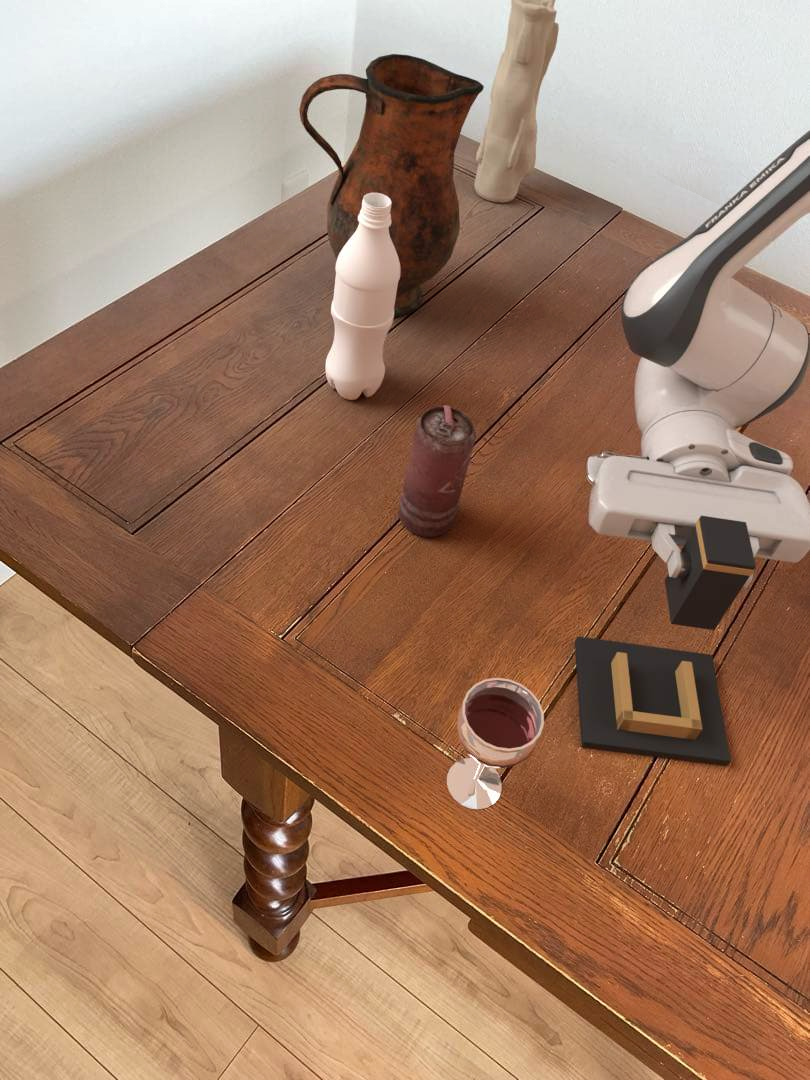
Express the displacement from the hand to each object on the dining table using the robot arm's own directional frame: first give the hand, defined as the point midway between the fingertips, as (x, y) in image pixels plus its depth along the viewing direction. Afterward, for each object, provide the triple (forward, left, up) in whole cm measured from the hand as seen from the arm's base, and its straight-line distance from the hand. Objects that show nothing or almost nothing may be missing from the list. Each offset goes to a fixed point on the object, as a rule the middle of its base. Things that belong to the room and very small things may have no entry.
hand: (711, 578), depth 83 cm
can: (+23, -18, -17) cm, 34 cm away
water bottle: (+33, -38, -17) cm, 53 cm away
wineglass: (+17, +13, -17) cm, 28 cm away
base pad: (0, +2, -17) cm, 17 cm away
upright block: (0, -1, -5) cm, 5 cm away
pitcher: (+33, -57, -17) cm, 68 cm away
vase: (+15, -90, -17) cm, 93 cm away
